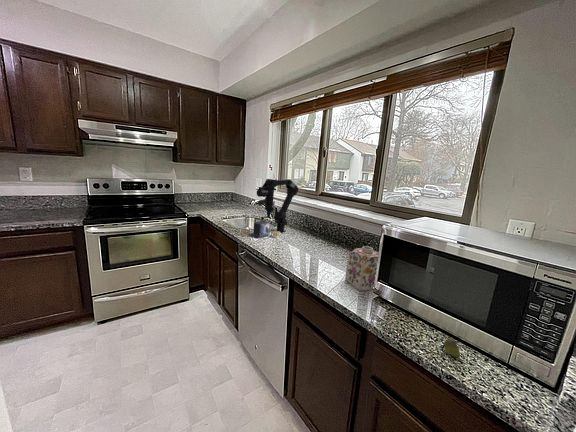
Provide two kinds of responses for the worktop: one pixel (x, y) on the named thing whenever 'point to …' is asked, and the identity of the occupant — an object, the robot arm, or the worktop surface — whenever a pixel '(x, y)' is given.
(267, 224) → the small box
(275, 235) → the marked block 2
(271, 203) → the robot arm
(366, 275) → the decorative jar
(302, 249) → the worktop surface
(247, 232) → the marked block 1
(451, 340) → the lime
